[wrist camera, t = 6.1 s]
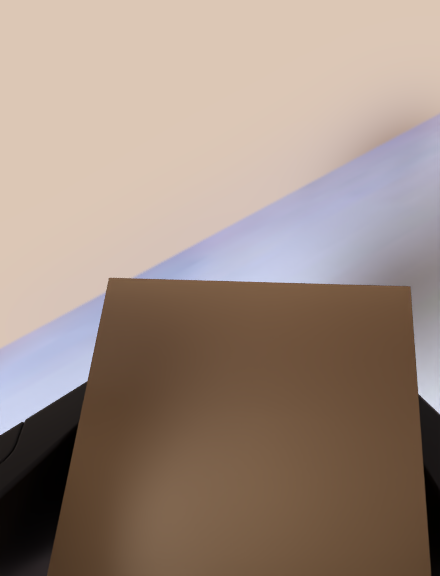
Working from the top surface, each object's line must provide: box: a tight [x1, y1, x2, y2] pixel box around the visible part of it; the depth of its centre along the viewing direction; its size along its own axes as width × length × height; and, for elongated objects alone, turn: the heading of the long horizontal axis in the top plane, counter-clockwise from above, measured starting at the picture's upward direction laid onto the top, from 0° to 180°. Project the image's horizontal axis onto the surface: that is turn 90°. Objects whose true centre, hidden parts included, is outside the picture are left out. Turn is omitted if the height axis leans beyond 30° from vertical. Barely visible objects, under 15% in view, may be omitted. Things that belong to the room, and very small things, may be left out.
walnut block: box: [47, 278, 431, 576], centre depth 9 cm, size 5×5×10 cm
